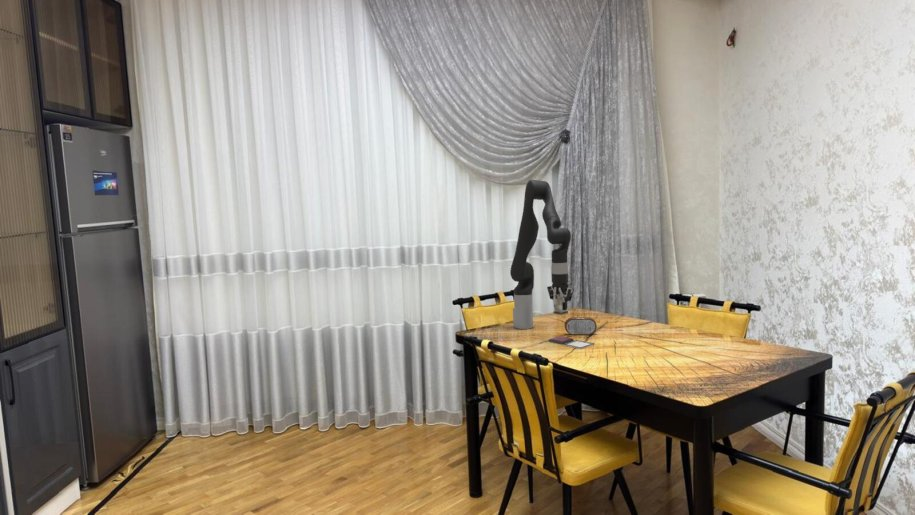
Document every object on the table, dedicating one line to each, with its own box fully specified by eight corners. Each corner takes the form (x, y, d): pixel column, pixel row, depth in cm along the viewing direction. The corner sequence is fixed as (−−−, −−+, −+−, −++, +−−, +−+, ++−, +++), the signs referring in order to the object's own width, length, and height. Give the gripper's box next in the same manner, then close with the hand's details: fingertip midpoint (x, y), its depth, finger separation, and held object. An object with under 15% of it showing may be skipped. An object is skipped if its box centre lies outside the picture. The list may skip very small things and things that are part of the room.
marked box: (562, 345, 271) (562, 344, 271) (576, 340, 278) (576, 339, 277) (581, 349, 263) (581, 348, 263) (594, 344, 270) (594, 343, 270)
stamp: (553, 313, 277) (553, 293, 276) (559, 311, 280) (559, 292, 279) (561, 314, 273) (561, 294, 272) (567, 312, 276) (567, 293, 275)
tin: (596, 333, 290) (596, 316, 289) (597, 335, 287) (596, 317, 286) (564, 334, 292) (564, 316, 291) (565, 335, 288) (564, 318, 287)
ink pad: (548, 341, 278) (548, 338, 278) (559, 338, 284) (559, 335, 283) (562, 344, 272) (562, 341, 272) (573, 341, 278) (573, 338, 277)
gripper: (542, 272, 277) (543, 308, 279) (567, 274, 267) (568, 312, 269) (552, 270, 282) (553, 306, 284) (577, 272, 272) (578, 310, 273)
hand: (560, 309), depth 276 cm, fingers closed on stamp, 4 cm apart
